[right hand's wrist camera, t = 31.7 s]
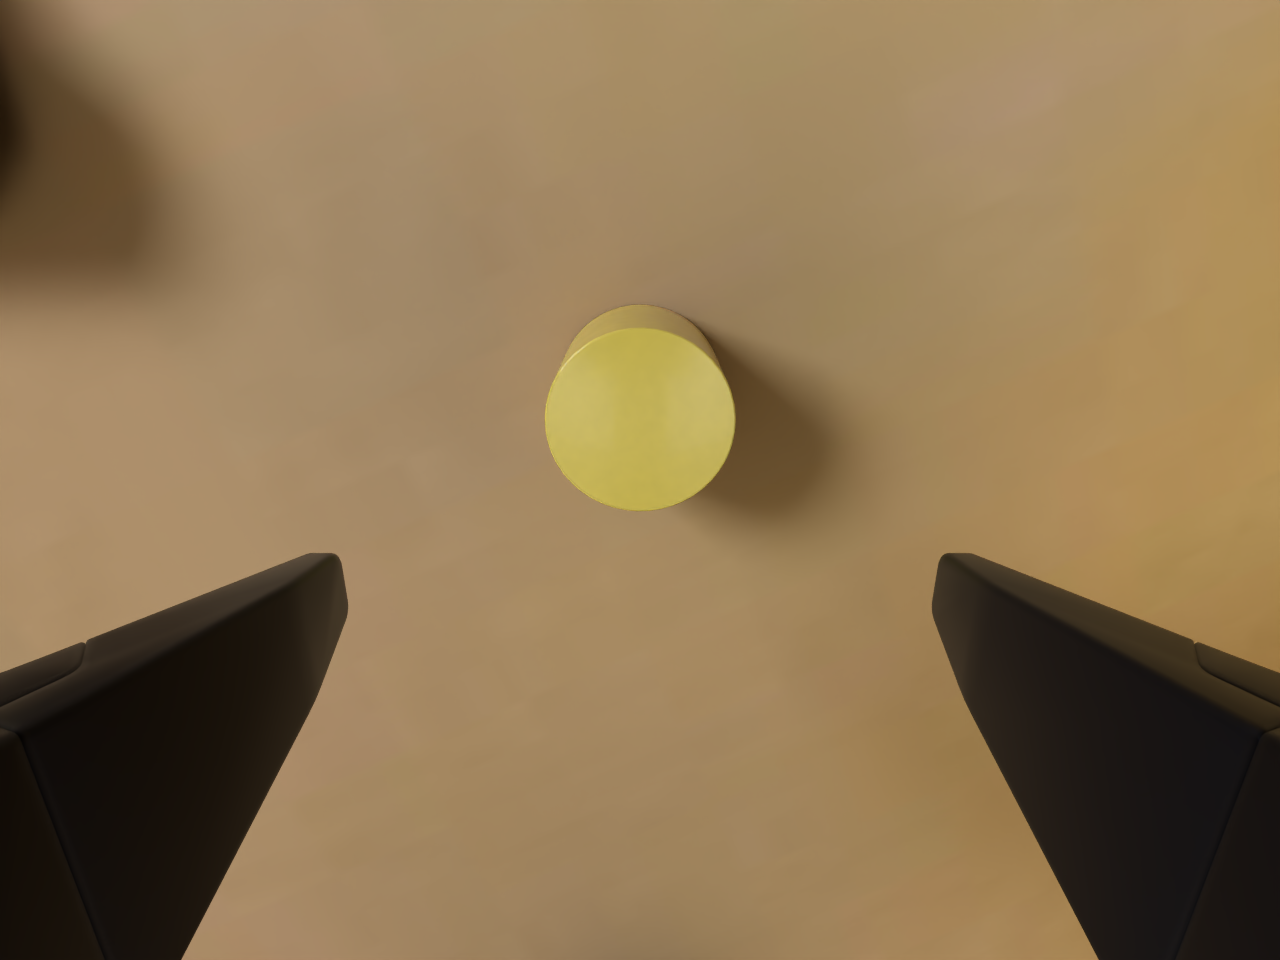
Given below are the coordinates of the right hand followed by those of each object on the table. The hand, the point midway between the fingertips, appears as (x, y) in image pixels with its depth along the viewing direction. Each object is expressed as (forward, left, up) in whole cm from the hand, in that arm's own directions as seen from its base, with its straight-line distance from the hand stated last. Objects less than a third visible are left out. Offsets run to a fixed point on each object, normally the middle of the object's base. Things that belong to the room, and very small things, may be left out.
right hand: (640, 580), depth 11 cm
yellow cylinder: (0, 0, -12) cm, 12 cm away
